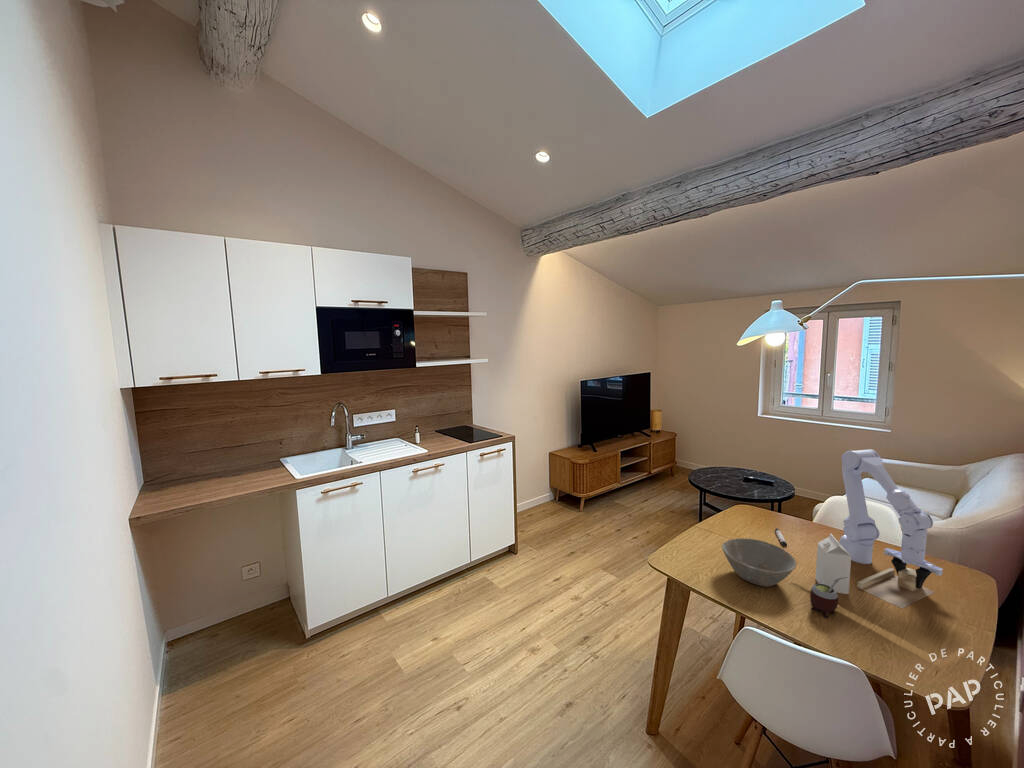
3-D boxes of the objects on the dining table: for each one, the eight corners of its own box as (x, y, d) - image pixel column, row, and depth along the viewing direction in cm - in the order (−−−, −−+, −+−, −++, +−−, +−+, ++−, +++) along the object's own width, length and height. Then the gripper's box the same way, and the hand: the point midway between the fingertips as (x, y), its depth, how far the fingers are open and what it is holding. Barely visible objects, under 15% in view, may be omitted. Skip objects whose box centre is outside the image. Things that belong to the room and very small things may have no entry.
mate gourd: (806, 602, 132) (809, 559, 131) (836, 607, 129) (838, 564, 128) (813, 616, 125) (816, 572, 124) (844, 623, 122) (848, 577, 121)
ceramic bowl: (722, 556, 161) (723, 533, 160) (791, 571, 149) (792, 546, 148) (719, 586, 142) (720, 560, 141) (798, 606, 130) (800, 578, 129)
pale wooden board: (856, 591, 137) (857, 581, 137) (889, 576, 145) (890, 567, 144) (901, 613, 126) (902, 602, 126) (934, 596, 134) (935, 586, 133)
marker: (787, 547, 167) (787, 543, 167) (781, 546, 168) (781, 542, 167) (778, 530, 181) (778, 526, 181) (773, 530, 182) (773, 526, 181)
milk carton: (839, 585, 140) (842, 534, 138) (848, 598, 134) (852, 544, 132) (815, 582, 143) (818, 532, 141) (823, 594, 136) (826, 541, 134)
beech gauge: (897, 585, 137) (898, 571, 137) (907, 580, 140) (908, 567, 139) (912, 591, 134) (913, 577, 133) (922, 587, 136) (923, 573, 135)
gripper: (880, 539, 140) (877, 575, 142) (936, 559, 127) (932, 599, 128) (891, 535, 143) (888, 570, 144) (947, 554, 129) (943, 593, 131)
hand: (910, 583), depth 137 cm, fingers closed on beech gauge, 4 cm apart
